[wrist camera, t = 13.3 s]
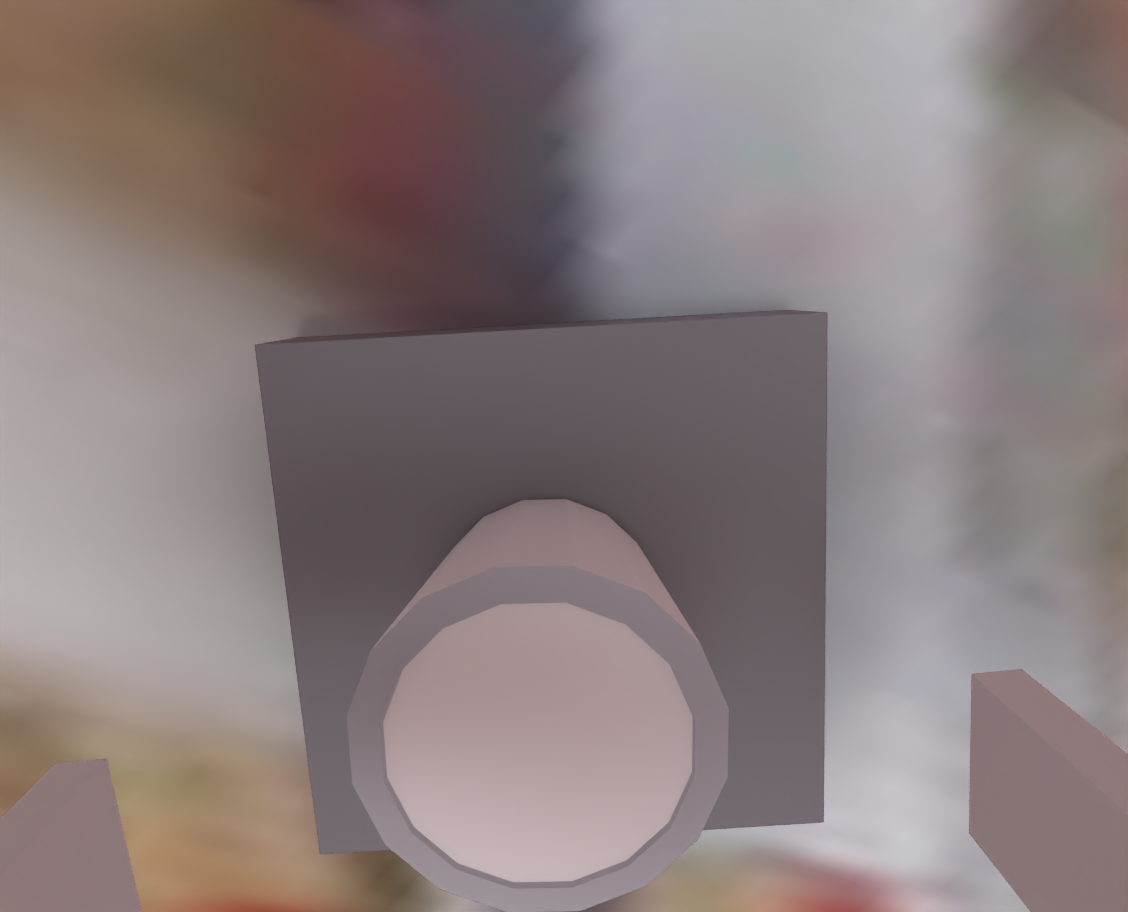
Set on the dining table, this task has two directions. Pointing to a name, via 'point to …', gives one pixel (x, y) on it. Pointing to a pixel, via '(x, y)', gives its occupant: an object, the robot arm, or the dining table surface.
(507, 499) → the block
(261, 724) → the dining table surface
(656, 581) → the shot glass
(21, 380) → the dining table surface
